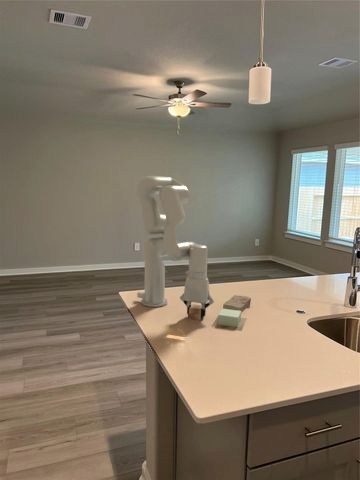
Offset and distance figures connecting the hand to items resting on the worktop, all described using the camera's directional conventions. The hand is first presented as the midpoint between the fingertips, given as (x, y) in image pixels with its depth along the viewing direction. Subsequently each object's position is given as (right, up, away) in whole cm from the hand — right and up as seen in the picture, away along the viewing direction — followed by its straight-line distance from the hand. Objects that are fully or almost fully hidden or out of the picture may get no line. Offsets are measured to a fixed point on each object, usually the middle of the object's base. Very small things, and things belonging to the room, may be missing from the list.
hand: (196, 316), depth 152 cm
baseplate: (+13, -3, -4) cm, 14 cm away
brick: (+20, 0, +15) cm, 24 cm away
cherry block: (0, -1, 0) cm, 1 cm away
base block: (+14, -2, -5) cm, 14 cm away
